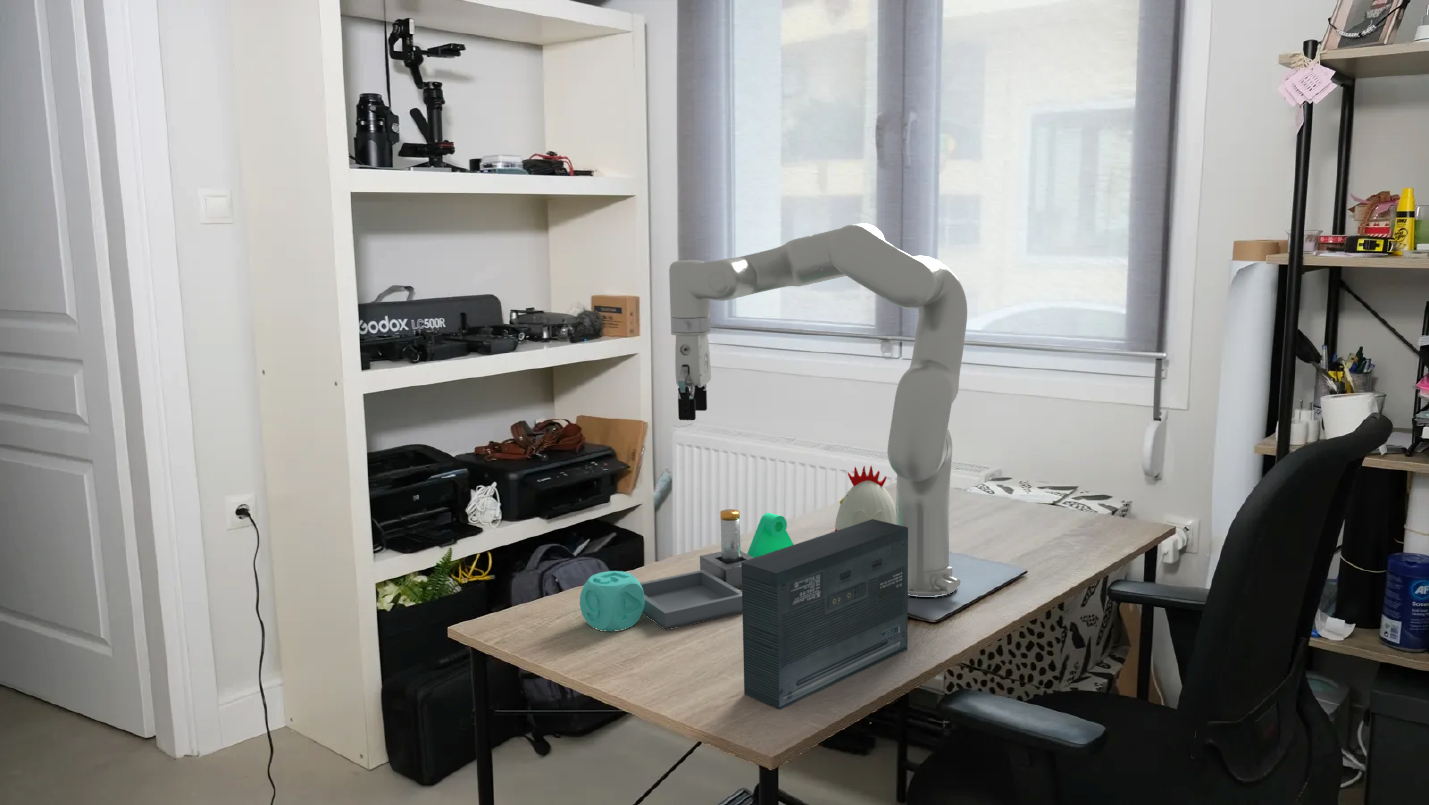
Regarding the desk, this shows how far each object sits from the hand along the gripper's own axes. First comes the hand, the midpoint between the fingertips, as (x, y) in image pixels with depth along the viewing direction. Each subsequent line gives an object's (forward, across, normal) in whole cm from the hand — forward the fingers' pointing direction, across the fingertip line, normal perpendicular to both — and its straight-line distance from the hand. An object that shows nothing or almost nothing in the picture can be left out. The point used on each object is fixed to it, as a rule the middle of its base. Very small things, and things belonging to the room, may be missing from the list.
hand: (693, 415), depth 206 cm
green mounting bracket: (+31, +2, -16) cm, 35 cm away
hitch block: (+30, -6, -8) cm, 32 cm away
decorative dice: (+31, -31, +8) cm, 44 cm away
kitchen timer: (+31, +26, -31) cm, 51 cm away
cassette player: (+31, -45, -31) cm, 62 cm away
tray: (+30, -22, -3) cm, 37 cm away
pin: (+30, -6, -8) cm, 32 cm away
